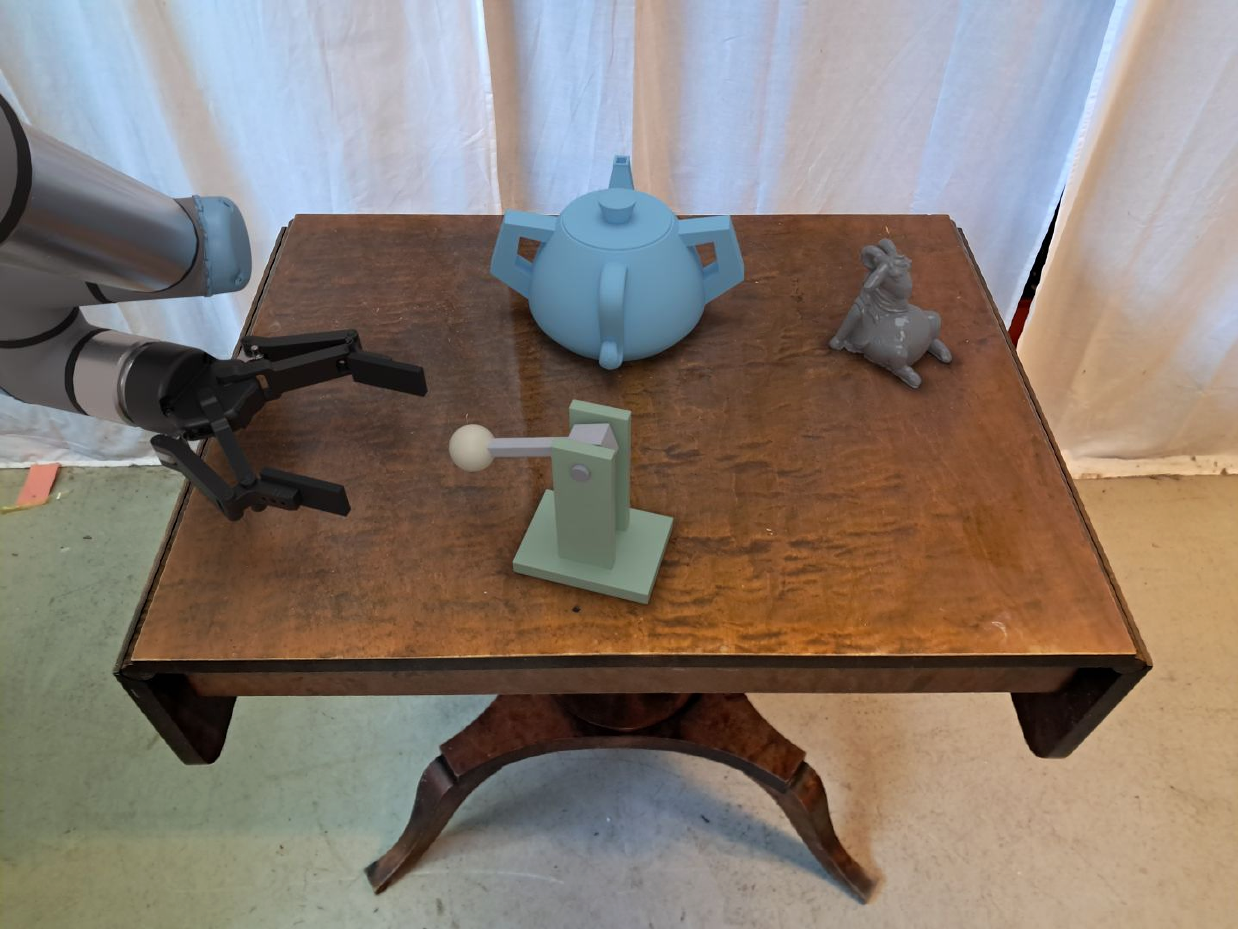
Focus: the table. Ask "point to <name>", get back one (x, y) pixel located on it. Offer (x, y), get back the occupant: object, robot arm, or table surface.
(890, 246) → the figurine
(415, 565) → the table surface
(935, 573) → the table surface
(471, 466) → the knob lever
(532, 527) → the green lever stand
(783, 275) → the table surface
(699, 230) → the teapot
